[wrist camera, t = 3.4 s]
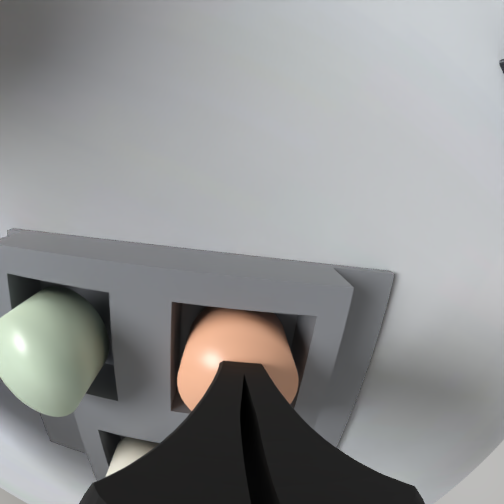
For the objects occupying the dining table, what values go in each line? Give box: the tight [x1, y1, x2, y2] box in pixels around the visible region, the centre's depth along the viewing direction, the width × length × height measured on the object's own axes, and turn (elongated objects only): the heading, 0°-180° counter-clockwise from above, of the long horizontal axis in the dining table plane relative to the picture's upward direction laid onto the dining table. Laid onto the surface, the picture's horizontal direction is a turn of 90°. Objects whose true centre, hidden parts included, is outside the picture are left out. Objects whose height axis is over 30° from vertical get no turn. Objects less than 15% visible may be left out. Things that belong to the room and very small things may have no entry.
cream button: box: [106, 437, 159, 477], centre depth 11 cm, size 4×4×3 cm
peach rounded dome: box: [177, 306, 298, 411], centre depth 11 cm, size 4×4×3 cm
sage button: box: [0, 286, 109, 417], centre depth 9 cm, size 4×4×3 cm
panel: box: [0, 228, 395, 481], centre depth 13 cm, size 18×14×3 cm
